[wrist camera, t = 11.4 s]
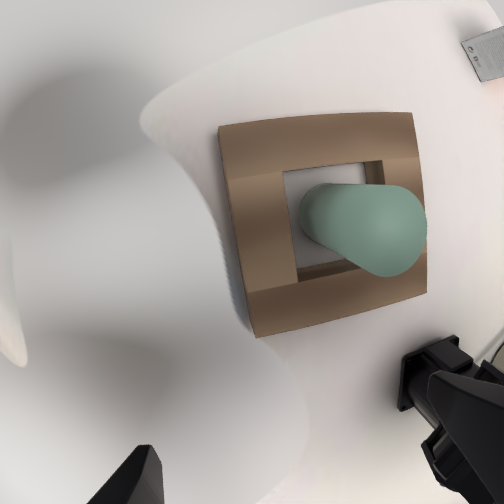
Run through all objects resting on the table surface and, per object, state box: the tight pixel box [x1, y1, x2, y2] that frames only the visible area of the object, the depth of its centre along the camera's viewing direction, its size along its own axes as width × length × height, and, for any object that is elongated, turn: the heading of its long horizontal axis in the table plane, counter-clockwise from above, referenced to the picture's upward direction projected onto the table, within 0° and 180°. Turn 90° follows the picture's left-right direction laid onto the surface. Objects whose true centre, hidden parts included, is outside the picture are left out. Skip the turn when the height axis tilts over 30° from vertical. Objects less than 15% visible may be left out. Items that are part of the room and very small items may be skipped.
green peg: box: [299, 184, 427, 277], centre depth 17 cm, size 4×4×8 cm
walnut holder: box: [217, 112, 427, 338], centre depth 19 cm, size 12×12×2 cm
